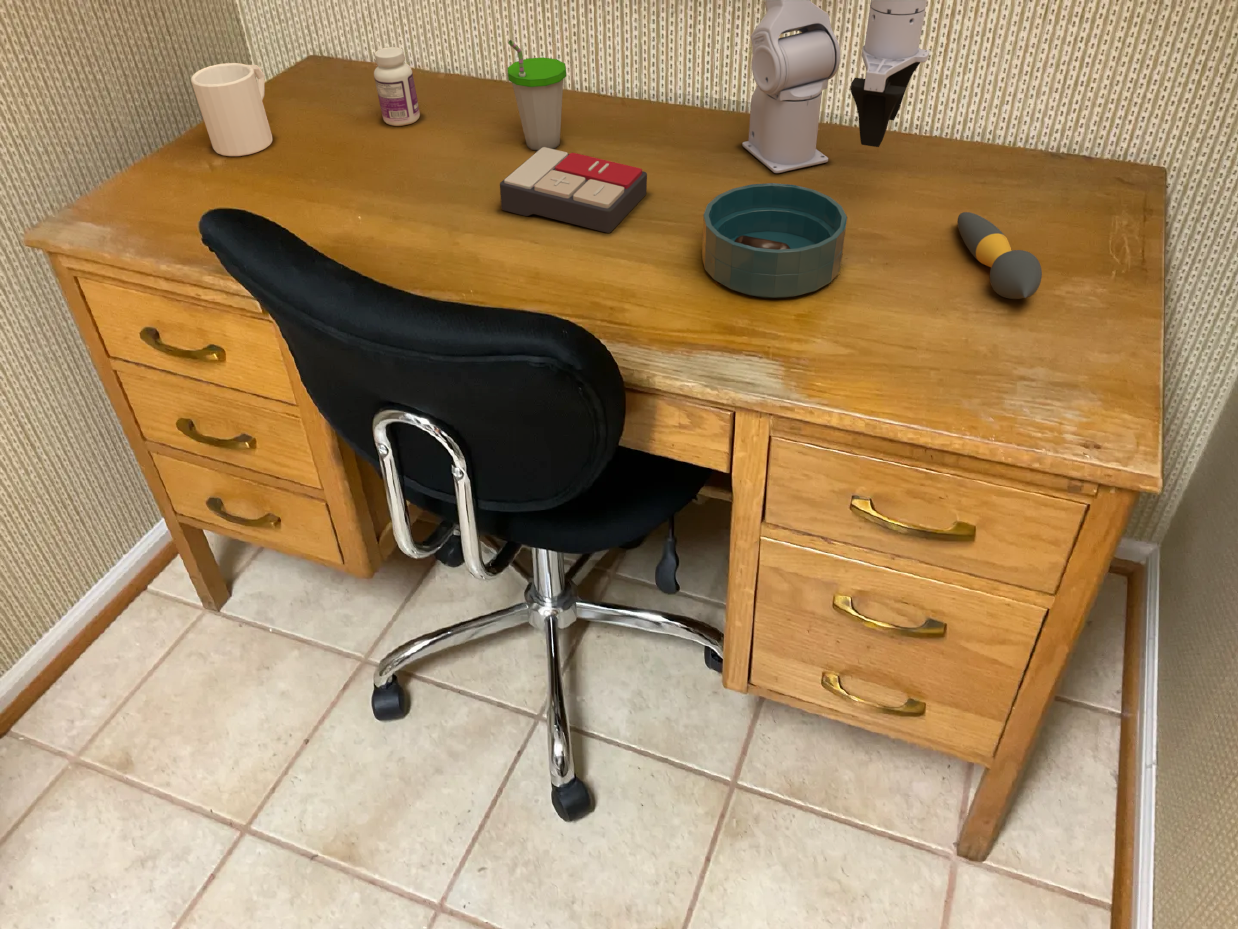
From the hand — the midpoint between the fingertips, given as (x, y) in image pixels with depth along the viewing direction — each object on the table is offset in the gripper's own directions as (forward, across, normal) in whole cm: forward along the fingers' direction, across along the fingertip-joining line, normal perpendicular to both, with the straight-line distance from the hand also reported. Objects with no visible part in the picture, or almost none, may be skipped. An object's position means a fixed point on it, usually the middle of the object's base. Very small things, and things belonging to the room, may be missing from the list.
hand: (878, 131), depth 112 cm
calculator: (+10, -12, +34) cm, 37 cm away
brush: (+9, -17, +7) cm, 20 cm away
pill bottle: (+10, +2, +69) cm, 69 cm away
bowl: (+9, -17, +7) cm, 21 cm away
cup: (+10, +2, +45) cm, 46 cm away
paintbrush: (+10, -10, -16) cm, 21 cm away
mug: (+10, -11, +85) cm, 87 cm away
